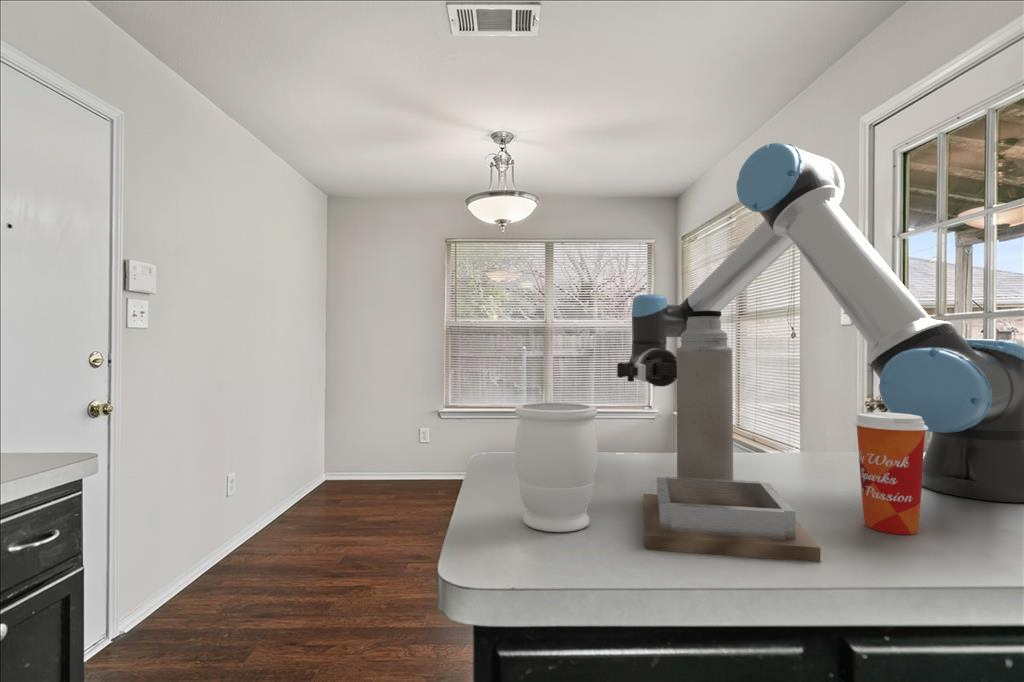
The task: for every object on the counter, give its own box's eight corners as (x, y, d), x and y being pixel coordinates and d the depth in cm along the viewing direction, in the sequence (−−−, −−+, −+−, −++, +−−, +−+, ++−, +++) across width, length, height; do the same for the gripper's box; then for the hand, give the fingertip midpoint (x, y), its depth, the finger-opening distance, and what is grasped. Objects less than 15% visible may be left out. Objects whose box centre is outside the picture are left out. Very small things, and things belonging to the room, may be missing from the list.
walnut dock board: (779, 512, 76) (779, 501, 76) (820, 562, 59) (820, 547, 59) (643, 504, 80) (643, 493, 80) (644, 548, 63) (644, 535, 63)
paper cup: (840, 522, 72) (839, 413, 72) (880, 515, 75) (879, 410, 75) (904, 542, 65) (903, 420, 65) (945, 533, 68) (943, 417, 68)
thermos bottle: (672, 489, 88) (671, 312, 89) (724, 490, 88) (723, 312, 88) (683, 503, 81) (681, 309, 81) (740, 505, 80) (739, 308, 80)
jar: (604, 515, 75) (603, 403, 75) (589, 540, 65) (588, 412, 66) (528, 508, 79) (528, 401, 79) (503, 531, 69) (503, 409, 69)
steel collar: (767, 504, 75) (767, 481, 75) (797, 540, 61) (796, 512, 61) (656, 497, 78) (656, 476, 78) (660, 531, 64) (660, 504, 64)
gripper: (719, 385, 115) (759, 396, 94) (597, 384, 116) (609, 394, 95) (719, 349, 115) (759, 351, 94) (597, 348, 116) (609, 350, 95)
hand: (684, 373), depth 94 cm, fingers open, 13 cm apart
